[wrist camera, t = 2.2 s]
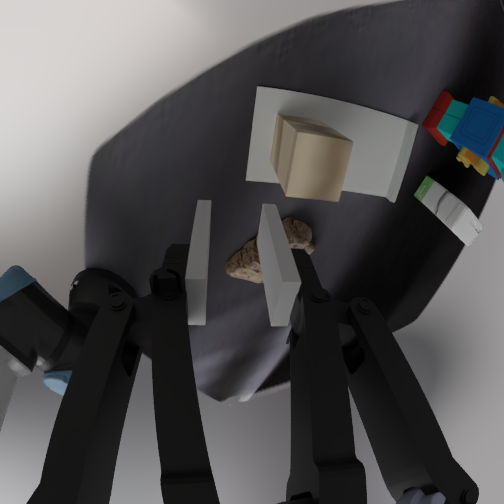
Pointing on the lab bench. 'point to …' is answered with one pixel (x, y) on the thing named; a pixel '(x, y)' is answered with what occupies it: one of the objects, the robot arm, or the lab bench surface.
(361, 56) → the lab bench surface
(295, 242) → the rock
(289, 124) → the block
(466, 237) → the ink box
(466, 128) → the toy robot
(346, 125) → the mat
